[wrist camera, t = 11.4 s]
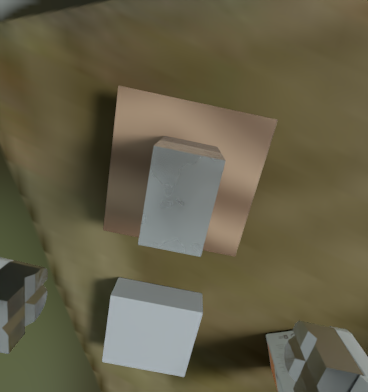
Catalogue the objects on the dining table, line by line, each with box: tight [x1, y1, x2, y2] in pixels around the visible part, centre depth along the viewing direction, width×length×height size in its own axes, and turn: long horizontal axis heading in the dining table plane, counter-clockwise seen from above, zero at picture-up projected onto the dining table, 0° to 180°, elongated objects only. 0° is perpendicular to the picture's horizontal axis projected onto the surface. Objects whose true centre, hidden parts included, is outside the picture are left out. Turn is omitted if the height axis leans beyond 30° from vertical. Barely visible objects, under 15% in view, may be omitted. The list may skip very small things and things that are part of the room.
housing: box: [138, 136, 226, 257], centre depth 19 cm, size 7×4×6 cm, turn 169°
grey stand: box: [102, 277, 203, 377], centre depth 30 cm, size 10×10×3 cm
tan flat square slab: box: [103, 86, 278, 256], centre depth 24 cm, size 13×13×3 cm
